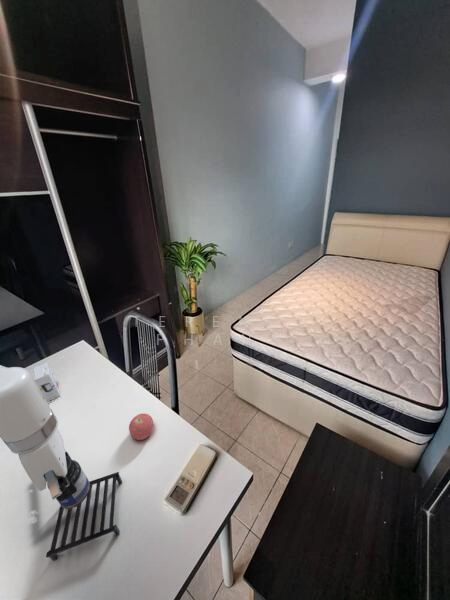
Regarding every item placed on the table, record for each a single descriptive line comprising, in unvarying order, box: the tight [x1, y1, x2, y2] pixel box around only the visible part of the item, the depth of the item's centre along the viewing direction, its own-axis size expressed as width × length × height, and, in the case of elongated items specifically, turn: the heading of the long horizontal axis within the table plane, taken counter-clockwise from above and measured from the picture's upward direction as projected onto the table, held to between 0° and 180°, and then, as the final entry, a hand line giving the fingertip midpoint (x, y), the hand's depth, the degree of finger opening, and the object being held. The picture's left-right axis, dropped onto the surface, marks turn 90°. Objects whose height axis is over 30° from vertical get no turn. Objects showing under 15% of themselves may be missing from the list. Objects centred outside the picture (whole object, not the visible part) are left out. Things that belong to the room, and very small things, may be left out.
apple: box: [128, 413, 154, 441], centre depth 79 cm, size 7×7×8 cm
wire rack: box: [45, 471, 123, 562], centre depth 61 cm, size 14×13×5 cm
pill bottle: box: [46, 455, 90, 510], centre depth 54 cm, size 6×6×11 cm
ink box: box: [32, 362, 61, 402], centre depth 96 cm, size 9×5×12 cm, turn 37°
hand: (66, 480), depth 53 cm, fingers closed on pill bottle, 6 cm apart
